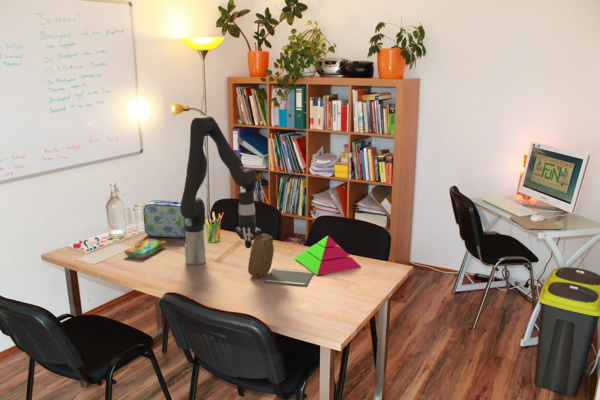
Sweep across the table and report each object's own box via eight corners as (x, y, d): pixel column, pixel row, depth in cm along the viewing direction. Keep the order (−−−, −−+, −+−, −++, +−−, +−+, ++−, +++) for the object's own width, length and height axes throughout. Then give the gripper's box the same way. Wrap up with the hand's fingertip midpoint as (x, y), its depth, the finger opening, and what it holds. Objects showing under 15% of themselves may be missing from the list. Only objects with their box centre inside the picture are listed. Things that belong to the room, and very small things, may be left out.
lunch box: (193, 233, 313) (191, 199, 308) (186, 239, 303) (184, 204, 298) (151, 231, 318) (149, 197, 312) (143, 237, 307) (140, 202, 302)
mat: (263, 282, 245) (263, 281, 245) (273, 269, 260) (273, 268, 260) (306, 286, 240) (306, 285, 240) (313, 272, 255) (313, 271, 255)
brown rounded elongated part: (256, 280, 247) (263, 241, 240) (245, 273, 251) (251, 235, 244) (272, 273, 255) (278, 236, 249) (260, 267, 259) (267, 230, 253)
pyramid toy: (336, 251, 284) (337, 225, 280) (361, 267, 262) (363, 239, 258) (294, 257, 273) (294, 231, 269) (317, 275, 251) (317, 246, 248)
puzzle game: (124, 249, 276) (148, 237, 294) (125, 257, 277) (148, 245, 295) (143, 252, 272) (166, 239, 290) (143, 260, 273) (166, 247, 291)
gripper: (230, 214, 244) (232, 249, 249) (258, 215, 241) (259, 251, 246) (236, 209, 251) (238, 244, 256) (263, 210, 248) (264, 246, 253)
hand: (248, 247), depth 251 cm, fingers closed
